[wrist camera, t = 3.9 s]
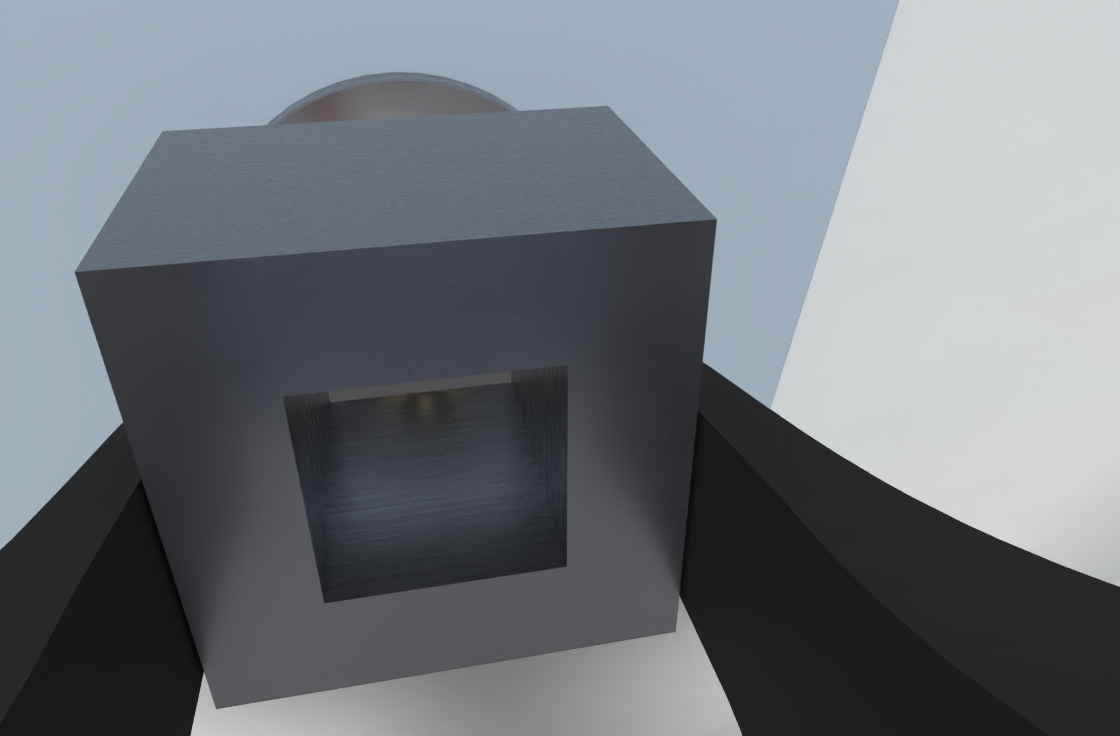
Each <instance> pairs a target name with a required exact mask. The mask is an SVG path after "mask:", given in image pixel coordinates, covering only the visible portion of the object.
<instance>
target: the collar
mask: <svg viewBox="0 0 1120 736" xmlns="http://www.w3.org/2000/svg"><path fill="white" fill-rule="evenodd" d="M716 225H717V219H716V217H715V216H714V215H713V214H712V213H711V212H710V211H709V210H708V209H707V208H706V207H705V206H704V205H703V204H702V203H701V202H700V201H699V200H698V199H697V198H696V197H695V196H694V195H693V194H692V193H691V192H690V190H689V189H688V188H687V187H686V186H685V185H684V184H683V183H682V182H681V181H680V180H679V179H678V178H677V177H676V176H675V175H674V174H673V173H672V172H671V171H670V170H669V169H668V168H667V167H666V166H665V164H664V163H663V162H662V161H661V160H660V159H659V158H658V157H657V156H656V155H655V154H654V153H653V152H652V151H651V150H650V149H649V148H648V147H647V146H646V145H645V144H644V143H643V142H642V141H641V140H640V139H639V137H638V136H637V135H636V134H635V133H634V132H633V131H632V130H631V129H630V128H629V127H628V126H627V125H626V124H625V123H624V122H623V121H622V120H621V119H620V118H619V117H618V116H617V115H616V114H615V113H614V111H613V110H612V109H611V108H610V107H609V106H596V107H579V108H561V109H544V110H526V111H508V112H491V113H473V114H456V115H438V116H420V117H403V118H385V119H368V120H350V121H333V122H315V123H297V124H280V125H262V126H245V127H227V128H209V129H192V130H174V131H162V133H161V134H160V136H159V137H158V139H157V141H156V142H155V144H154V145H153V147H152V149H151V150H150V152H149V153H148V155H147V157H146V158H145V160H144V161H143V163H142V165H141V166H140V168H139V169H138V171H137V173H136V174H135V176H134V177H133V179H132V181H131V182H130V184H129V185H128V187H127V189H126V190H125V192H124V193H123V195H122V197H121V198H120V200H119V201H118V203H117V205H116V206H115V208H114V209H113V211H112V213H111V214H110V216H109V217H108V219H107V221H106V222H105V224H104V225H103V227H102V229H101V230H100V232H99V233H98V235H97V237H96V238H95V240H94V241H93V243H92V245H91V246H90V248H89V249H88V251H87V253H86V254H85V256H84V257H83V259H82V261H81V262H80V264H79V265H78V267H77V269H76V270H75V275H76V279H77V282H78V285H79V288H80V291H81V294H82V297H83V300H84V303H85V306H86V309H87V312H88V316H89V319H90V322H91V325H92V328H93V331H94V334H95V337H96V340H97V343H98V346H99V349H100V352H101V356H102V359H103V362H104V365H105V368H106V371H107V374H108V377H109V380H110V383H111V386H112V389H113V392H114V396H115V399H116V402H117V405H118V408H119V411H120V414H121V417H122V420H123V423H124V426H125V429H126V433H127V436H128V439H129V442H130V445H131V448H132V451H133V454H134V457H135V460H136V463H137V466H138V469H139V473H140V476H141V479H142V482H143V485H144V488H145V491H146V494H147V497H148V500H149V503H150V506H151V510H152V513H153V516H154V519H155V522H156V525H157V528H158V531H159V534H160V537H161V540H162V543H163V546H164V550H165V553H166V556H167V559H168V562H169V565H170V568H171V571H172V574H173V577H174V580H175V583H176V586H177V590H178V593H179V596H180V599H181V602H182V605H183V608H184V611H185V614H186V617H187V620H188V623H189V627H190V630H191V633H192V636H193V639H194V642H195V645H196V648H197V651H198V654H199V657H200V660H201V663H202V667H203V670H204V673H205V676H206V679H207V682H208V685H209V688H210V691H211V694H212V697H213V700H214V704H215V707H216V709H220V708H226V707H232V706H237V705H243V704H249V703H255V702H261V701H267V700H273V699H279V698H285V697H291V696H297V695H303V694H309V693H315V692H321V691H327V690H332V689H338V688H344V687H350V686H356V685H362V684H368V683H374V682H380V681H386V680H392V679H398V678H404V677H410V676H416V675H421V674H427V673H433V672H439V671H445V670H451V669H457V668H463V667H469V666H475V665H481V664H487V663H493V662H499V661H505V660H511V659H516V658H522V657H528V656H534V655H540V654H546V653H552V652H558V651H564V650H570V649H576V648H582V647H588V646H594V645H600V644H605V643H611V642H617V641H623V640H629V639H635V638H641V637H647V636H653V635H659V634H665V633H671V632H676V622H677V612H678V602H679V592H680V582H681V572H682V562H683V552H684V542H685V533H686V523H687V513H688V503H689V493H690V483H691V473H692V463H693V453H694V443H695V433H696V423H697V413H698V404H699V394H700V384H701V374H702V364H703V354H704V344H705V334H706V324H707V314H708V304H709V294H710V284H711V275H712V265H713V255H714V245H715V235H716ZM509 371H511V381H512V382H508V383H499V384H490V385H481V386H472V387H463V388H454V389H445V390H436V391H427V392H418V393H409V394H401V395H392V396H383V397H374V398H365V399H356V400H347V401H338V402H330V397H329V391H336V390H345V389H354V388H364V387H373V386H382V385H391V384H400V383H409V382H418V381H427V380H436V379H446V378H455V377H464V376H473V375H482V374H491V373H500V372H509Z"/></svg>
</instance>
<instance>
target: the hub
mask: <svg viewBox="0 0 1120 736" xmlns="http://www.w3.org/2000/svg"><path fill="white" fill-rule="evenodd" d="M508 111H518V110H517V109H516V108H514V107H513V106H511V105H510V104H508V103H506V102H505V101H503V100H501V99H500V98H498V97H496V96H495V95H493V94H491V93H489V92H486V91H484V90H482V89H480V88H477V87H475V86H473V85H470V84H468V83H464V82H461V81H457V80H454V79H450V78H447V77H443V76H436V75H430V74H423V73H408V72H388V73H380V74H371V75H363V76H359V77H355V78H351V79H348V80H344V81H340V82H337V83H334V84H332V85H329V86H327V87H324V88H322V89H319V90H317V91H314V92H312V93H311V94H309V95H307V96H305V97H304V98H302V99H300V100H298V101H297V102H295V103H293V104H292V105H290V106H289V107H287V108H286V109H285V110H284V111H282V112H281V113H280V114H279V115H277V116H276V117H275V118H274V119H272V120H271V121H270V122H269V123H268V124H267V125H280V124H297V123H315V122H333V121H350V120H368V119H385V118H403V117H420V116H438V115H456V114H473V113H491V112H508ZM508 382H512V381H511V371H509V372H500V373H491V374H482V375H473V376H464V377H455V378H446V379H436V380H427V381H418V382H409V383H400V384H391V385H382V386H373V387H364V388H354V389H345V390H336V391H329V397H330V402H338V401H347V400H356V399H365V398H374V397H383V396H392V395H401V394H409V393H418V392H427V391H436V390H445V389H454V388H463V387H472V386H481V385H490V384H499V383H508Z"/></svg>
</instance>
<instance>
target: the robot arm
mask: <svg viewBox="0 0 1120 736" xmlns="http://www.w3.org/2000/svg"><path fill="white" fill-rule="evenodd" d="M679 595H680V597H681V600H682V602H683V604H684V606H685V608H686V610H687V612H688V615H689V617H690V619H691V621H692V623H693V625H694V627H695V630H696V632H697V634H698V636H699V638H700V640H701V642H702V645H703V647H704V649H705V651H706V653H707V655H708V657H709V660H710V662H711V664H712V666H713V668H714V670H715V672H716V675H717V677H718V679H719V681H720V683H721V685H722V687H723V690H724V692H725V694H726V696H727V698H728V701H729V703H730V706H731V708H732V711H733V713H734V715H735V718H736V720H737V723H738V725H739V727H740V730H741V733H742V736H1120V587H1119V586H1116V585H1113V584H1110V583H1107V582H1105V581H1102V580H1099V579H1096V578H1094V577H1091V576H1088V575H1086V574H1083V573H1080V572H1078V571H1075V570H1072V569H1070V568H1067V567H1065V566H1062V565H1059V564H1057V563H1055V562H1052V561H1050V560H1047V559H1045V558H1043V557H1040V556H1038V555H1035V554H1033V553H1031V552H1028V551H1026V550H1023V549H1021V548H1019V547H1016V546H1014V545H1011V544H1009V543H1007V542H1004V541H1002V540H999V539H997V538H995V537H993V536H991V535H988V534H986V533H984V532H982V531H980V530H977V529H975V528H973V527H971V526H969V525H967V524H965V523H962V522H960V521H958V520H956V519H954V518H953V517H951V516H949V515H947V514H945V513H943V512H941V511H939V510H937V509H935V508H933V507H931V506H929V505H927V504H925V503H923V502H921V501H919V500H917V499H915V498H913V497H911V496H909V495H907V494H905V493H903V492H902V491H900V490H898V489H896V488H894V487H893V486H891V485H889V484H887V483H885V482H884V481H882V480H880V479H878V478H877V477H875V476H873V475H872V474H870V473H868V472H867V471H865V470H863V469H862V468H860V467H858V466H857V465H855V464H853V463H852V462H850V461H848V460H847V459H845V458H843V457H842V456H840V455H838V454H837V453H835V452H834V451H832V450H831V449H829V448H827V447H826V446H824V445H823V444H821V443H820V442H818V441H816V440H815V439H813V438H812V437H810V436H809V435H807V434H806V433H804V432H803V431H801V430H800V429H798V428H797V427H795V426H794V425H792V424H791V423H790V422H788V421H787V420H785V419H784V418H782V417H781V416H779V415H778V414H776V413H775V412H774V411H772V410H771V409H769V408H768V407H766V406H765V405H763V404H762V403H761V402H759V401H758V400H756V399H755V398H754V397H752V396H751V395H749V394H748V393H747V392H745V391H744V390H742V389H741V388H740V387H738V386H737V385H735V384H734V383H733V382H731V381H730V380H728V379H727V378H725V377H724V376H723V375H721V374H720V373H718V372H717V371H716V370H714V369H713V368H711V367H710V366H708V365H707V364H705V363H704V362H703V364H702V374H701V384H700V394H699V404H698V413H697V423H696V433H695V443H694V453H693V463H692V473H691V483H690V493H689V503H688V513H687V523H686V533H685V542H684V552H683V562H682V572H681V582H680V592H679ZM203 673H204V670H203V667H202V663H201V660H200V657H199V654H198V651H197V648H196V645H195V642H194V639H193V636H192V633H191V630H190V627H189V623H188V620H187V617H186V614H185V611H184V608H183V605H182V602H181V599H180V596H179V593H178V590H177V586H176V583H175V580H174V577H173V574H172V571H171V568H170V565H169V562H168V559H167V556H166V553H165V550H164V546H163V543H162V540H161V537H160V534H159V531H158V528H157V525H156V522H155V519H154V516H153V513H152V510H151V506H150V503H149V500H148V497H147V494H146V491H145V488H144V485H143V482H142V479H141V476H140V473H139V469H138V466H137V463H136V460H135V457H134V454H133V451H132V448H131V445H130V442H129V439H128V436H127V433H126V429H125V426H124V423H122V424H121V425H120V426H119V427H118V428H117V429H116V430H115V431H114V432H113V433H112V434H111V435H110V436H109V437H108V438H107V439H106V440H105V441H104V442H103V444H102V445H101V446H100V447H99V448H98V449H97V450H96V451H95V452H94V453H93V454H92V455H91V456H90V458H89V459H88V460H87V461H86V462H85V463H84V464H83V465H82V466H81V467H80V468H79V469H78V471H77V472H76V473H75V474H74V475H73V476H72V477H71V478H70V479H69V480H68V481H67V482H66V483H65V484H64V486H63V487H62V488H61V489H60V490H59V491H58V492H57V493H56V494H55V495H54V496H53V497H52V498H51V499H50V500H49V501H48V502H47V503H46V504H45V505H44V506H43V507H42V508H41V509H40V510H39V511H38V513H37V514H36V515H35V516H34V517H33V518H32V519H31V520H30V521H29V522H28V523H27V524H26V525H25V526H24V527H23V528H22V529H21V530H20V531H19V532H18V533H17V534H16V535H15V536H14V537H13V538H12V539H11V540H10V541H9V542H8V543H7V544H6V545H5V546H4V547H3V548H2V549H1V550H0V736H190V735H191V730H192V725H193V721H194V716H195V711H196V706H197V702H198V697H199V692H200V687H201V682H202V678H203Z"/></svg>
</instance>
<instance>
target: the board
mask: <svg viewBox="0 0 1120 736" xmlns="http://www.w3.org/2000/svg"><path fill="white" fill-rule="evenodd" d="M898 3H899V0H0V550H1V549H2V548H3V547H4V546H5V545H6V544H7V543H8V542H9V541H10V540H11V539H12V538H13V537H14V536H15V535H16V534H17V533H18V532H19V531H20V530H21V529H22V528H23V527H24V526H25V525H26V524H27V523H28V522H29V521H30V520H31V519H32V518H33V517H34V516H35V515H36V514H37V513H38V511H39V510H40V509H41V508H42V507H43V506H44V505H45V504H46V503H47V502H48V501H49V500H50V499H51V498H52V497H53V496H54V495H55V494H56V493H57V492H58V491H59V490H60V489H61V488H62V487H63V486H64V484H65V483H66V482H67V481H68V480H69V479H70V478H71V477H72V476H73V475H74V474H75V473H76V472H77V471H78V469H79V468H80V467H81V466H82V465H83V464H84V463H85V462H86V461H87V460H88V459H89V458H90V456H91V455H92V454H93V453H94V452H95V451H96V450H97V449H98V448H99V447H100V446H101V445H102V444H103V442H104V441H105V440H106V439H107V438H108V437H109V436H110V435H111V434H112V433H113V432H114V431H115V430H116V429H117V428H118V427H119V426H120V425H121V424H122V423H123V420H122V417H121V414H120V411H119V408H118V405H117V402H116V399H115V396H114V392H113V389H112V386H111V383H110V380H109V377H108V374H107V371H106V368H105V365H104V362H103V359H102V356H101V352H100V349H99V346H98V343H97V340H96V337H95V334H94V331H93V328H92V325H91V322H90V319H89V316H88V312H87V309H86V306H85V303H84V300H83V297H82V294H81V291H80V288H79V285H78V282H77V279H76V275H75V270H76V269H77V267H78V265H79V264H80V262H81V261H82V259H83V257H84V256H85V254H86V253H87V251H88V249H89V248H90V246H91V245H92V243H93V241H94V240H95V238H96V237H97V235H98V233H99V232H100V230H101V229H102V227H103V225H104V224H105V222H106V221H107V219H108V217H109V216H110V214H111V213H112V211H113V209H114V208H115V206H116V205H117V203H118V201H119V200H120V198H121V197H122V195H123V193H124V192H125V190H126V189H127V187H128V185H129V184H130V182H131V181H132V179H133V177H134V176H135V174H136V173H137V171H138V169H139V168H140V166H141V165H142V163H143V161H144V160H145V158H146V157H147V155H148V153H149V152H150V150H151V149H152V147H153V145H154V144H155V142H156V141H157V139H158V137H159V136H160V134H161V133H162V131H174V130H192V129H209V128H227V127H245V126H262V125H267V124H268V123H269V122H270V121H271V120H272V119H274V118H275V117H276V116H277V115H279V114H280V113H281V112H282V111H284V110H285V109H286V108H287V107H289V106H290V105H292V104H293V103H295V102H297V101H298V100H300V99H302V98H304V97H305V96H307V95H309V94H311V93H312V92H314V91H317V90H319V89H322V88H324V87H327V86H329V85H332V84H334V83H337V82H340V81H344V80H348V79H351V78H355V77H359V76H363V75H371V74H380V73H388V72H408V73H423V74H430V75H436V76H443V77H447V78H450V79H454V80H457V81H461V82H464V83H468V84H470V85H473V86H475V87H477V88H480V89H482V90H484V91H486V92H489V93H491V94H493V95H495V96H496V97H498V98H500V99H501V100H503V101H505V102H506V103H508V104H510V105H511V106H513V107H514V108H516V109H517V110H518V111H526V110H544V109H561V108H579V107H596V106H609V107H610V108H611V109H612V110H613V111H614V113H615V114H616V115H617V116H618V117H619V118H620V119H621V120H622V121H623V122H624V123H625V124H626V125H627V126H628V127H629V128H630V129H631V130H632V131H633V132H634V133H635V134H636V135H637V136H638V137H639V139H640V140H641V141H642V142H643V143H644V144H645V145H646V146H647V147H648V148H649V149H650V150H651V151H652V152H653V153H654V154H655V155H656V156H657V157H658V158H659V159H660V160H661V161H662V162H663V163H664V164H665V166H666V167H667V168H668V169H669V170H670V171H671V172H672V173H673V174H674V175H675V176H676V177H677V178H678V179H679V180H680V181H681V182H682V183H683V184H684V185H685V186H686V187H687V188H688V189H689V190H690V192H691V193H692V194H693V195H694V196H695V197H696V198H697V199H698V200H699V201H700V202H701V203H702V204H703V205H704V206H705V207H706V208H707V209H708V210H709V211H710V212H711V213H712V214H713V215H714V216H715V217H716V219H717V225H716V235H715V245H714V255H713V265H712V275H711V284H710V294H709V304H708V314H707V324H706V334H705V344H704V354H703V362H704V363H705V364H707V365H708V366H710V367H711V368H713V369H714V370H716V371H717V372H718V373H720V374H721V375H723V376H724V377H725V378H727V379H728V380H730V381H731V382H733V383H734V384H735V385H737V386H738V387H740V388H741V389H742V390H744V391H745V392H747V393H748V394H749V395H751V396H752V397H754V398H755V399H756V400H758V401H759V402H761V403H762V404H763V405H765V406H766V407H768V408H769V409H770V408H771V405H772V402H773V399H774V395H775V392H776V389H777V386H778V383H779V380H780V376H781V373H782V370H783V367H784V364H785V361H786V357H787V354H788V351H789V348H790V345H791V342H792V339H793V335H794V332H795V329H796V326H797V323H798V320H799V316H800V313H801V310H802V307H803V304H804V301H805V297H806V294H807V291H808V288H809V285H810V282H811V278H812V275H813V272H814V269H815V266H816V263H817V259H818V256H819V253H820V250H821V247H822V244H823V240H824V237H825V234H826V231H827V228H828V225H829V221H830V218H831V215H832V212H833V209H834V206H835V203H836V199H837V196H838V193H839V190H840V187H841V184H842V180H843V177H844V174H845V171H846V168H847V165H848V161H849V158H850V155H851V152H852V149H853V146H854V142H855V139H856V136H857V133H858V130H859V127H860V123H861V120H862V117H863V114H864V111H865V108H866V104H867V101H868V98H869V95H870V92H871V89H872V85H873V82H874V79H875V76H876V73H877V70H878V67H879V63H880V60H881V57H882V54H883V51H884V48H885V44H886V41H887V38H888V35H889V32H890V29H891V25H892V22H893V19H894V16H895V13H896V10H897V6H898Z"/></svg>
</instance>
